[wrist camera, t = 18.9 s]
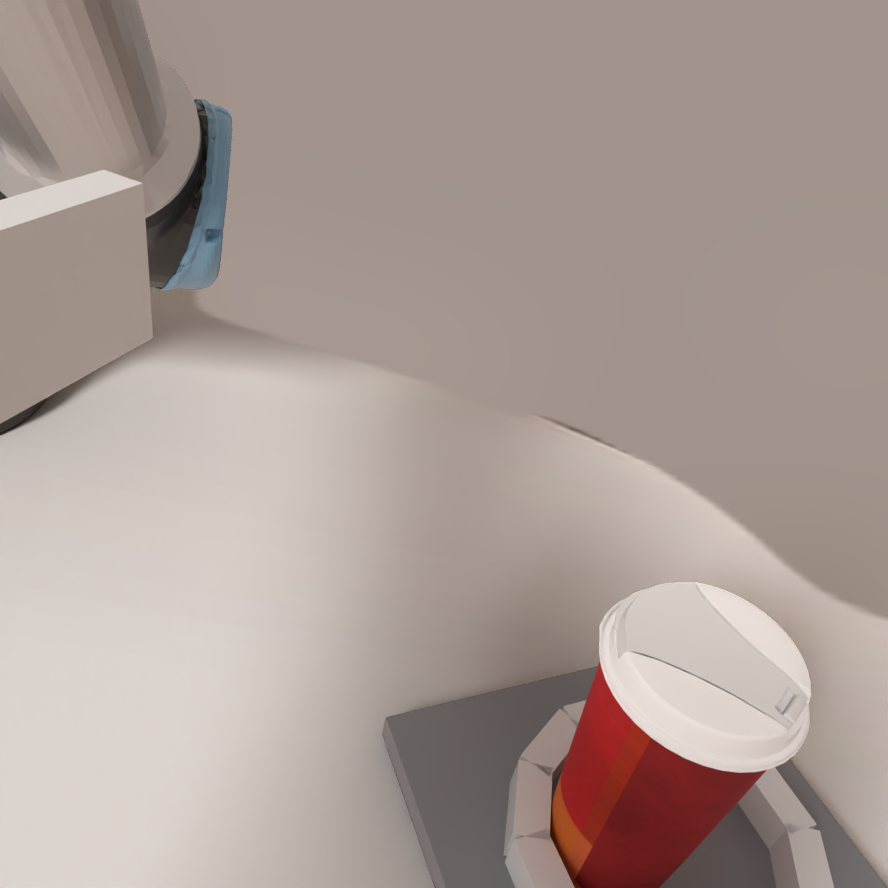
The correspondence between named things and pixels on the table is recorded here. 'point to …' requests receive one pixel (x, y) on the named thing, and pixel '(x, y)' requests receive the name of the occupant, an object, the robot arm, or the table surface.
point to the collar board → (533, 787)
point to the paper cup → (674, 731)
